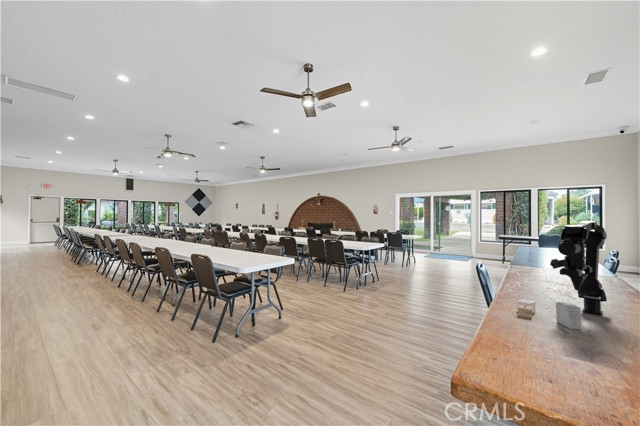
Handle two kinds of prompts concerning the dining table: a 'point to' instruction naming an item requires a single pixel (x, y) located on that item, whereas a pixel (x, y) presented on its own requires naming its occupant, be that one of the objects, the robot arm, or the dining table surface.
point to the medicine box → (568, 315)
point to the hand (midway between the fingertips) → (576, 290)
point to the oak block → (525, 311)
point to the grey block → (527, 304)
